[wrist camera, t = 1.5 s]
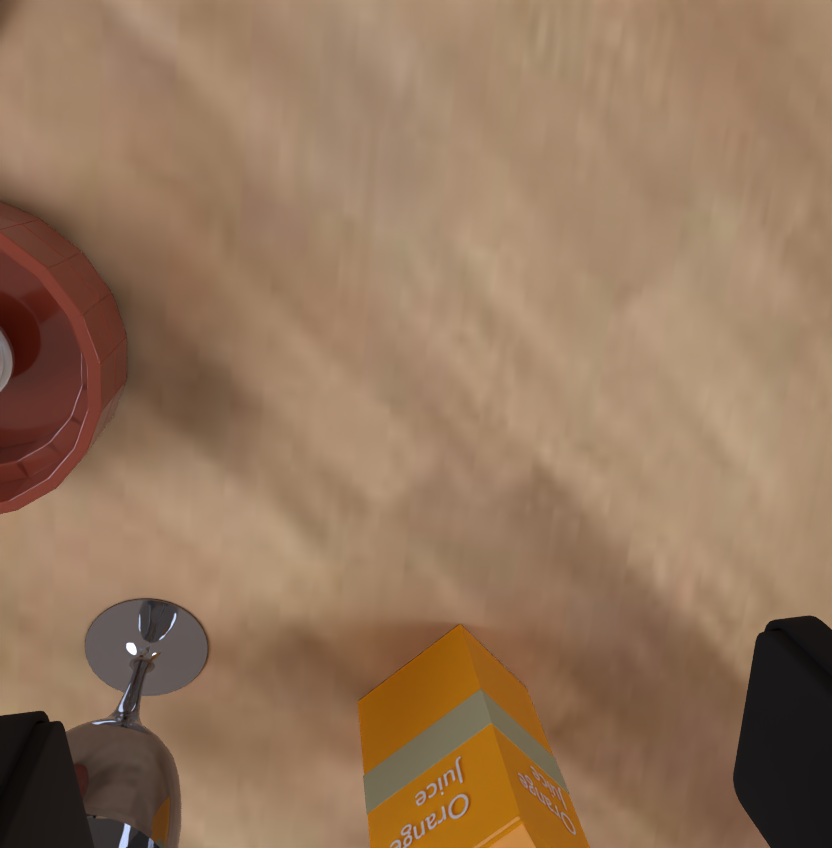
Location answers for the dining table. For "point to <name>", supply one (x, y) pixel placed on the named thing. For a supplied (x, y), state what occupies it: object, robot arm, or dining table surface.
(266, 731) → the dining table surface
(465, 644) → the orange juice
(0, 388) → the screw
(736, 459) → the dining table surface
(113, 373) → the bowl
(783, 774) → the robot arm
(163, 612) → the wine glass
